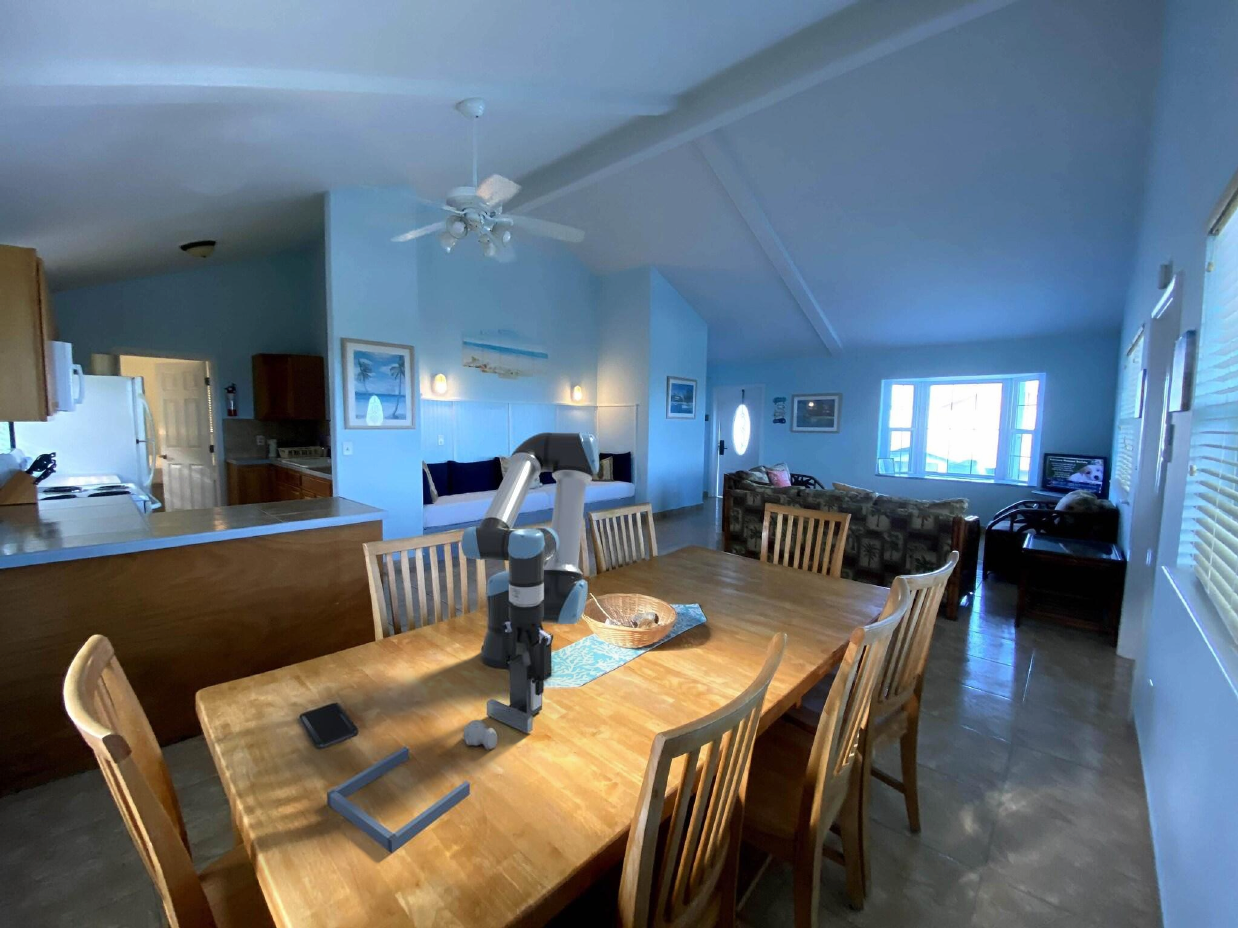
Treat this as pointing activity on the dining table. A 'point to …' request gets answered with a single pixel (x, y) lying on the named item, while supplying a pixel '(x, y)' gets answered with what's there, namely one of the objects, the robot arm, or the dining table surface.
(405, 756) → the frame
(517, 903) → the dining table surface
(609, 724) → the dining table surface
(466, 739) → the pale two-lobed sculpture
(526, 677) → the grey block with bar
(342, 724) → the phone
